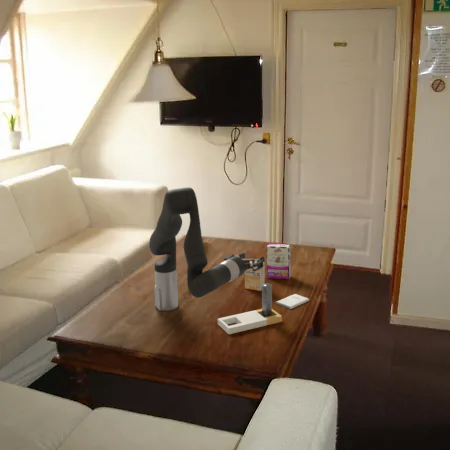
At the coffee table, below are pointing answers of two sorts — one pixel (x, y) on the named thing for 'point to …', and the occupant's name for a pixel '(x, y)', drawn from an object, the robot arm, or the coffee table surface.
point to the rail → (248, 321)
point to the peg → (266, 300)
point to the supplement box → (254, 278)
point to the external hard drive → (292, 301)
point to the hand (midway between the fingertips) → (253, 256)
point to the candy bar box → (278, 261)
